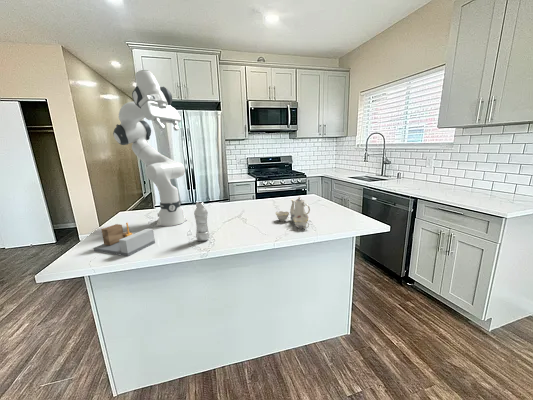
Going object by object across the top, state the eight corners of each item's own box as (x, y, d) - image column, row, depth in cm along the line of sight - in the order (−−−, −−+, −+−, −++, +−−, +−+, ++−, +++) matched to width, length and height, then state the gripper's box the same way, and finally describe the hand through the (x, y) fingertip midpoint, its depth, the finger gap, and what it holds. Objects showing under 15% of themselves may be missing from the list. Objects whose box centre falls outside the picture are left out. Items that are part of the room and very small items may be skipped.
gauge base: (94, 250, 117) (91, 236, 116) (123, 238, 132) (120, 225, 130) (128, 256, 110) (125, 240, 108) (155, 243, 125) (153, 229, 123)
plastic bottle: (197, 238, 129) (194, 201, 125) (210, 237, 130) (207, 200, 125) (195, 243, 123) (191, 204, 119) (208, 242, 123) (205, 203, 119)
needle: (125, 239, 126) (123, 223, 125) (130, 237, 129) (128, 221, 127) (128, 239, 126) (125, 223, 124) (133, 237, 129) (130, 222, 127)
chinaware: (271, 223, 156) (268, 198, 151) (290, 215, 165) (287, 192, 161) (303, 234, 134) (301, 206, 129) (323, 225, 144) (321, 198, 139)
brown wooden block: (104, 244, 120) (101, 229, 118) (126, 235, 131) (123, 221, 130) (110, 245, 119) (107, 229, 117) (131, 236, 130) (129, 222, 128)
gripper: (169, 109, 126) (180, 133, 127) (135, 102, 108) (148, 131, 108) (177, 103, 124) (189, 127, 124) (143, 94, 105) (157, 123, 105)
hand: (169, 129), depth 116 cm, fingers open, 8 cm apart
